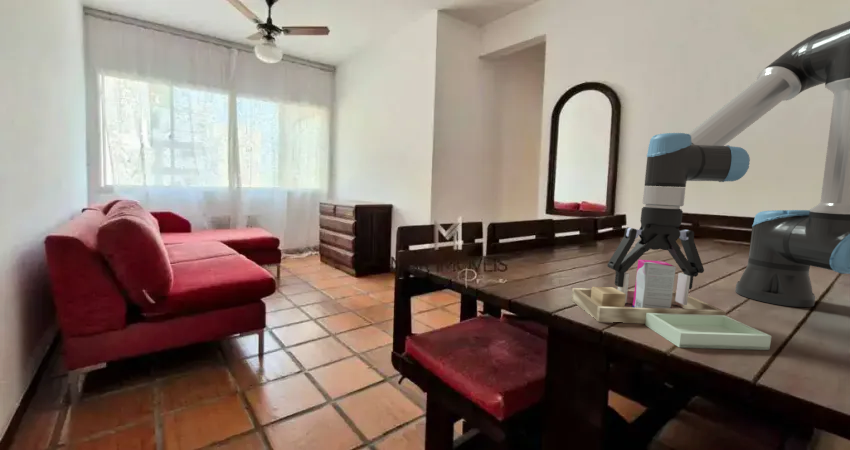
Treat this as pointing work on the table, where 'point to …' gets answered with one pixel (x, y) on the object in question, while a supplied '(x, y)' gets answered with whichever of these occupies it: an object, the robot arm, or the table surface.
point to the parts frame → (637, 314)
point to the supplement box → (654, 284)
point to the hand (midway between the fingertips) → (651, 302)
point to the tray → (707, 331)
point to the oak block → (608, 296)
